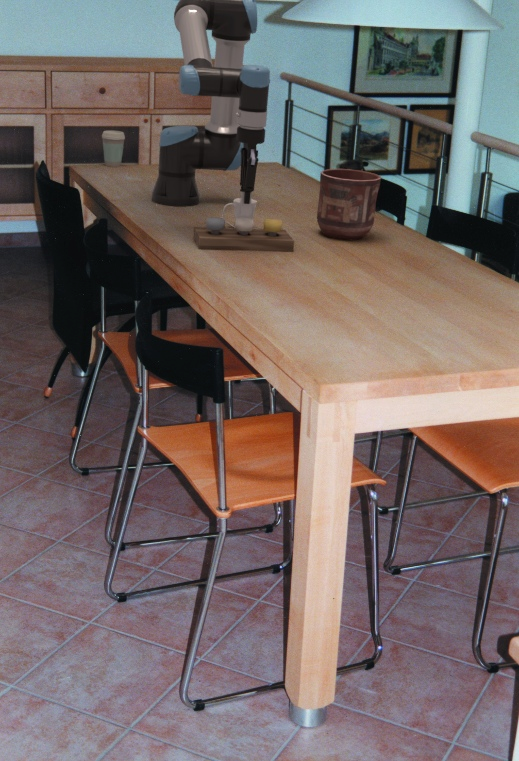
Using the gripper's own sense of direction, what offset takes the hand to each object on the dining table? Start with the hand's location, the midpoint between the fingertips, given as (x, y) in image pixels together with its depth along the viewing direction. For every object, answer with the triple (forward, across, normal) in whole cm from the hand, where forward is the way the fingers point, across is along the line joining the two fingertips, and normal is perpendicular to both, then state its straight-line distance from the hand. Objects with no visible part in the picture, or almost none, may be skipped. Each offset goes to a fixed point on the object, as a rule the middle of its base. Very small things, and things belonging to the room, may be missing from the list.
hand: (244, 214), depth 268 cm
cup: (+9, -18, +2) cm, 21 cm away
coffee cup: (+10, -106, -30) cm, 111 cm away
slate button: (+7, 0, -8) cm, 10 cm away
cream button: (+7, 0, 0) cm, 7 cm away
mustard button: (+7, 0, +8) cm, 10 cm away
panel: (+8, 0, 0) cm, 8 cm away
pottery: (+9, -14, +33) cm, 37 cm away
